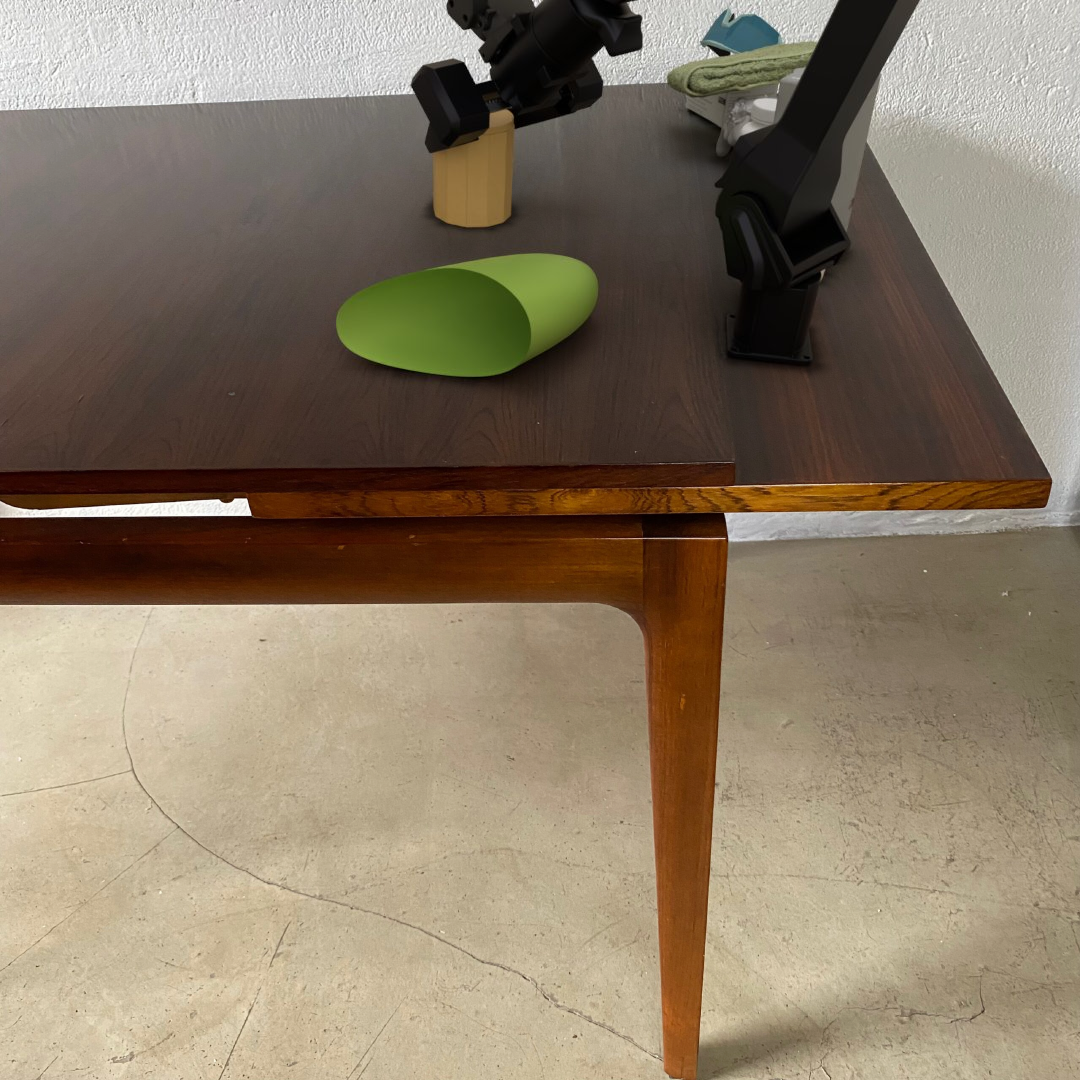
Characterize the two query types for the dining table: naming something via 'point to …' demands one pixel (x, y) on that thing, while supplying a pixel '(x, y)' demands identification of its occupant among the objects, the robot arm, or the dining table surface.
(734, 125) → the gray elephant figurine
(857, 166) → the cosmetic box
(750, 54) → the washcloth
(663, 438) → the dining table surface
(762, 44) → the teal curved piece
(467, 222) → the cup-cap
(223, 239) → the dining table surface
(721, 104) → the small box
